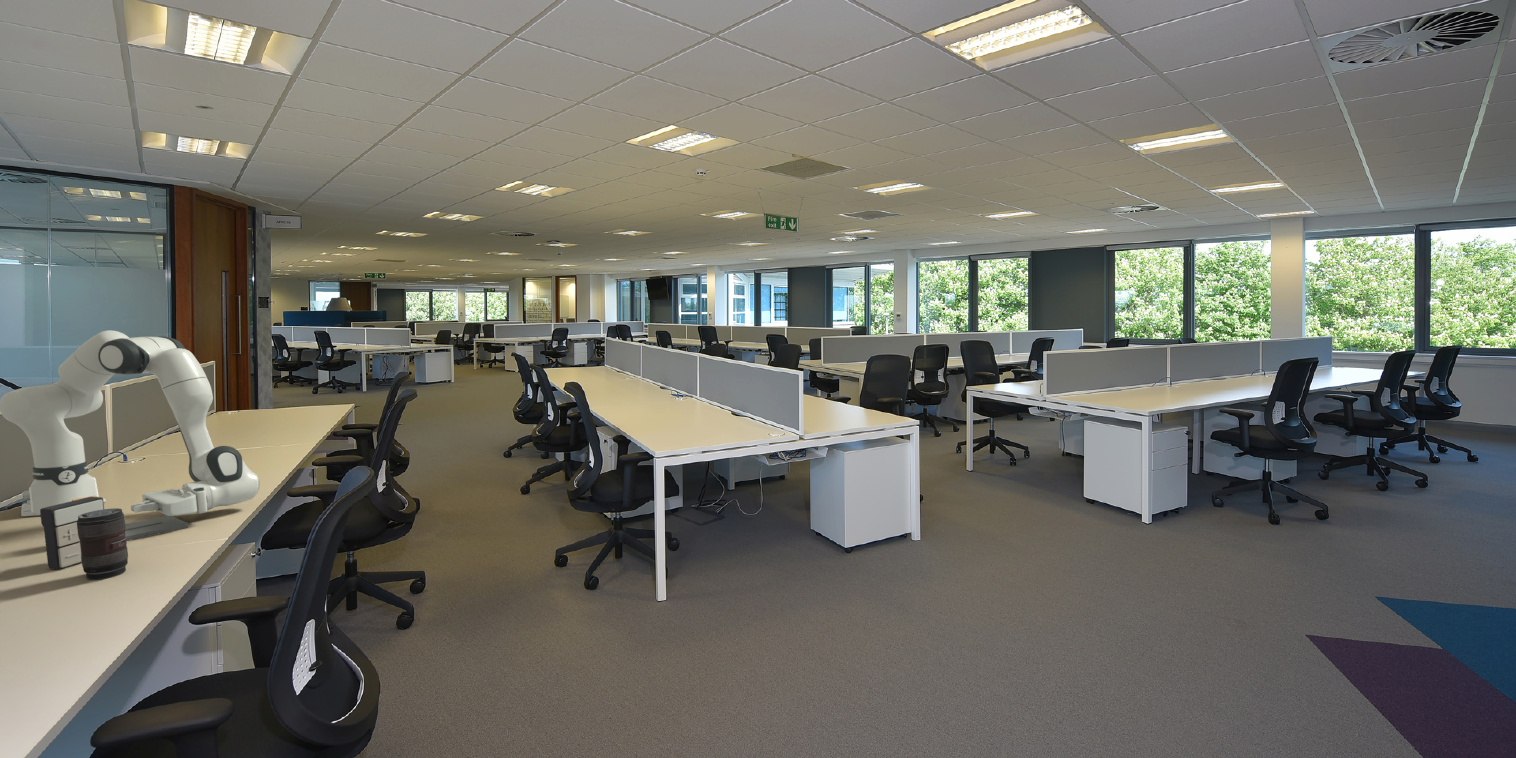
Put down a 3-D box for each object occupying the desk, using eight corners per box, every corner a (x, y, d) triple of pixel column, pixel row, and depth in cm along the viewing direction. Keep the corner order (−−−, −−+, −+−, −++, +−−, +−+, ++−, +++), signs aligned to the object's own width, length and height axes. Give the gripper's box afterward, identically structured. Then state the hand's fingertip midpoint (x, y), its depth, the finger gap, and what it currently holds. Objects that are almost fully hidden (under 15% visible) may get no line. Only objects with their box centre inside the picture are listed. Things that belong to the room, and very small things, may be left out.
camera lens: (126, 565, 167) (120, 505, 165) (132, 573, 162) (126, 511, 160) (80, 575, 161) (73, 513, 159) (85, 584, 156) (78, 520, 154)
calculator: (60, 570, 163) (53, 509, 162) (46, 569, 164) (39, 508, 163) (111, 554, 174) (105, 497, 172) (98, 553, 175) (92, 496, 173)
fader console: (57, 542, 183) (56, 537, 183) (169, 518, 203) (169, 514, 203) (73, 552, 175) (72, 547, 175) (188, 527, 195) (188, 522, 195)
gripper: (179, 481, 207) (119, 492, 195) (206, 491, 196) (144, 503, 184) (181, 502, 207) (121, 513, 196) (208, 513, 196) (146, 526, 185)
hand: (132, 508), depth 190 cm, fingers closed
